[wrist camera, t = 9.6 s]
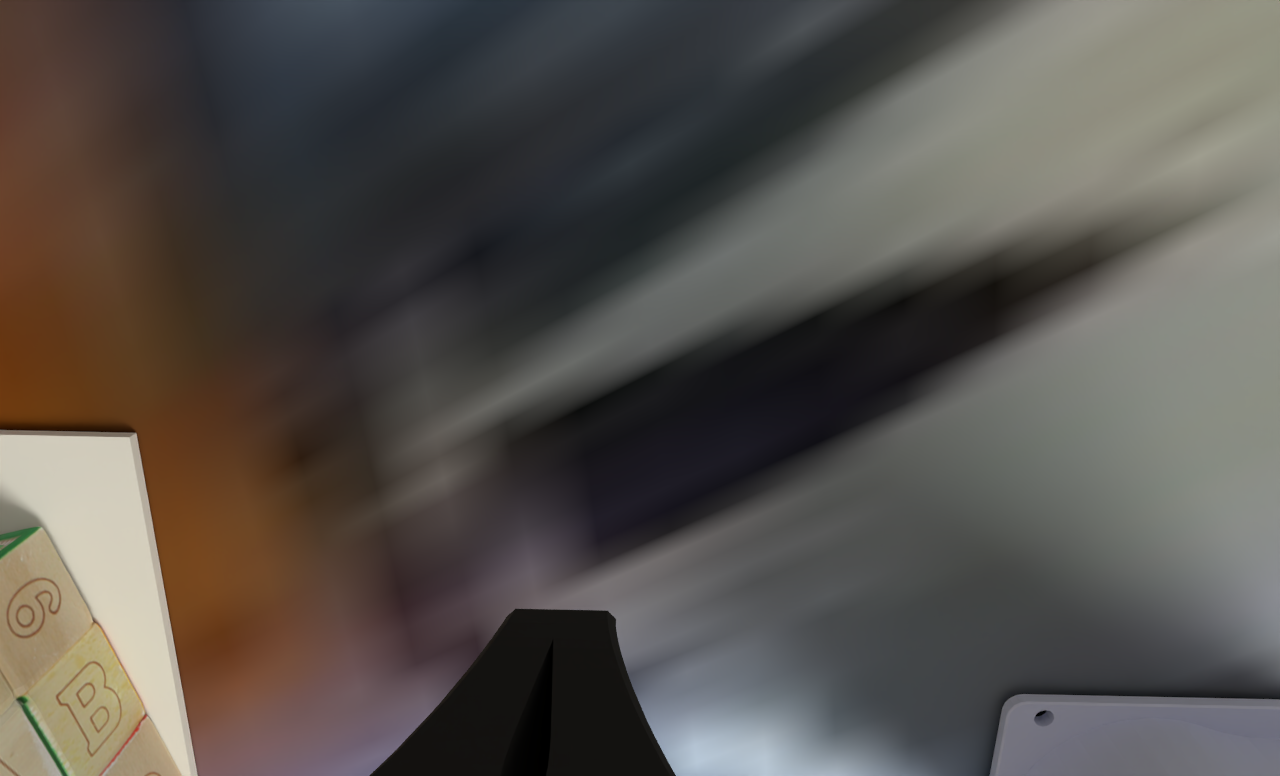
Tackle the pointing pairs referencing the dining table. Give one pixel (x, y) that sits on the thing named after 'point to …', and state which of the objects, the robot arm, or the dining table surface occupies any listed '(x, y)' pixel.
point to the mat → (103, 554)
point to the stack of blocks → (63, 677)
